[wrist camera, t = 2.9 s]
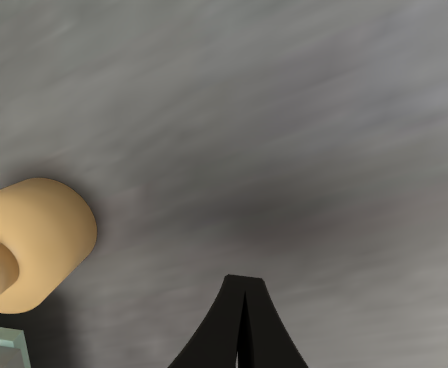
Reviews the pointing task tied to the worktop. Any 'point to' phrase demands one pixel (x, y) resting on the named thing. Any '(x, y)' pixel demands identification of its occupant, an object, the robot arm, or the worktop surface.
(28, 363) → the lid
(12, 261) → the domed oval button
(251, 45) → the worktop surface
